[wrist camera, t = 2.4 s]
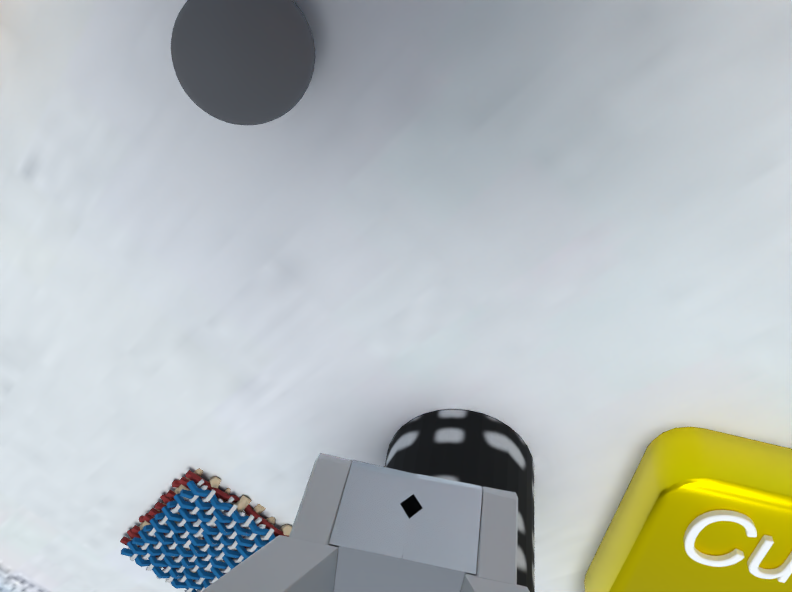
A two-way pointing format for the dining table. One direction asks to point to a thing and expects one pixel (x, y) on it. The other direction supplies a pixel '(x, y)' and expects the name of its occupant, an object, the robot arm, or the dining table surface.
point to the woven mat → (199, 533)
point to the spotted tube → (473, 464)
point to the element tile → (701, 519)
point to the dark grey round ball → (243, 57)
